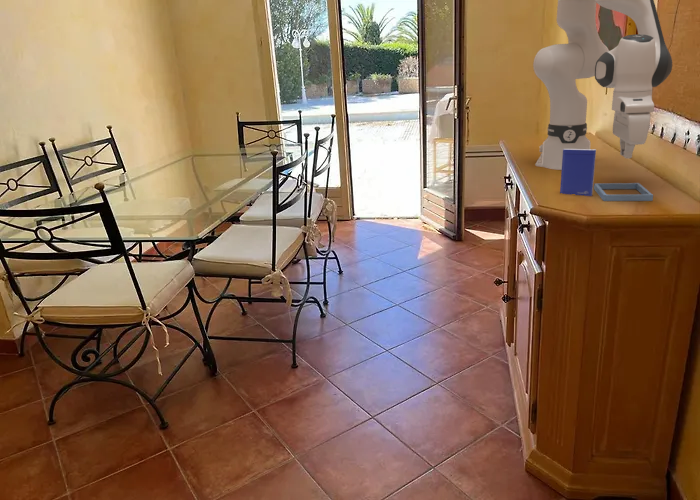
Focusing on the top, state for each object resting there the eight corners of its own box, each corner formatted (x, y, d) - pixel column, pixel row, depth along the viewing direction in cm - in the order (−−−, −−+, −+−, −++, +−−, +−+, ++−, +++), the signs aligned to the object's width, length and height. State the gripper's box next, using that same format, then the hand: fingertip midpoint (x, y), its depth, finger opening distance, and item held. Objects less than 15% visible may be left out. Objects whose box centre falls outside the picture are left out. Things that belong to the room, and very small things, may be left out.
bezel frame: (593, 188, 154) (594, 183, 154) (638, 188, 151) (639, 182, 151) (603, 200, 142) (604, 195, 141) (652, 200, 139) (653, 195, 138)
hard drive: (591, 196, 147) (595, 150, 143) (559, 194, 151) (562, 149, 147) (592, 194, 148) (596, 149, 144) (560, 193, 152) (563, 148, 148)
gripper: (609, 100, 149) (604, 150, 153) (627, 106, 130) (621, 164, 135) (634, 98, 147) (629, 149, 152) (656, 105, 129) (649, 163, 133)
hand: (625, 156), depth 143 cm, fingers closed
